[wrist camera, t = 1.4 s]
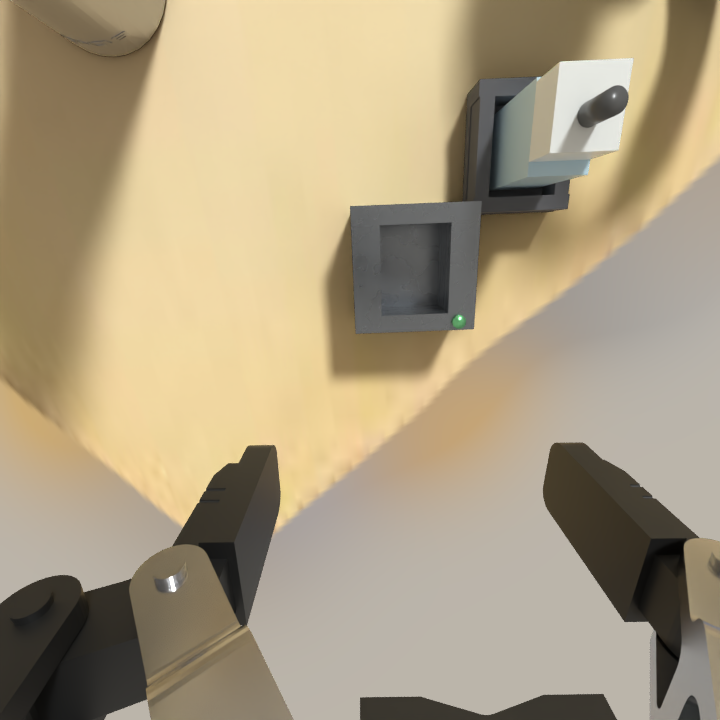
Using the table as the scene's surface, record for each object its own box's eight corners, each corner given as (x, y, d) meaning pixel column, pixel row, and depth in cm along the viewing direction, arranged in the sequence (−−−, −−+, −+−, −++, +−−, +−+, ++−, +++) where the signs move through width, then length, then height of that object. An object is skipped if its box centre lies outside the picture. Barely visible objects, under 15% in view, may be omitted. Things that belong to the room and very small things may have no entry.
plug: (493, 115, 27) (584, 35, 16) (542, 113, 27) (667, 31, 16) (488, 190, 29) (568, 163, 18) (534, 188, 29) (643, 160, 18)
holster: (467, 94, 27) (480, 78, 25) (561, 90, 27) (585, 73, 25) (461, 215, 30) (472, 213, 27) (547, 211, 30) (567, 209, 27)
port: (351, 210, 30) (350, 206, 25) (462, 206, 30) (483, 200, 25) (356, 319, 33) (355, 334, 28) (457, 315, 33) (475, 330, 28)
